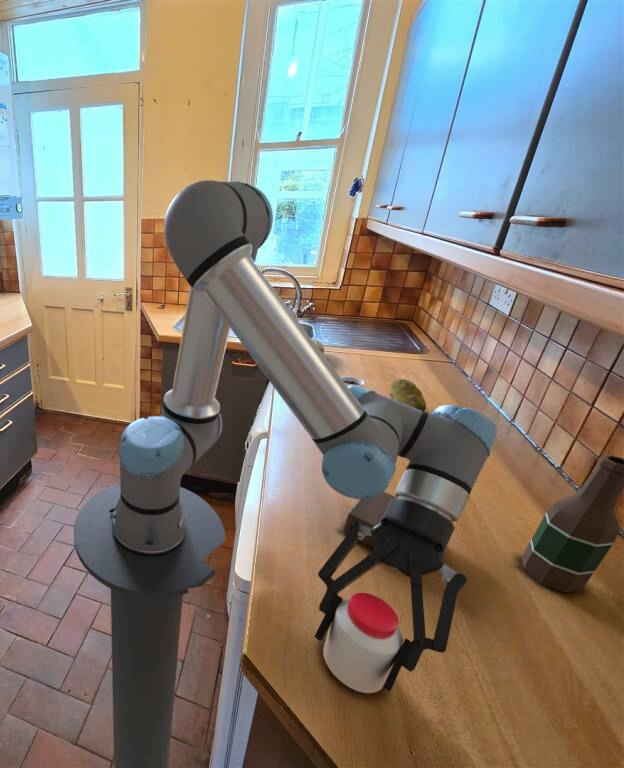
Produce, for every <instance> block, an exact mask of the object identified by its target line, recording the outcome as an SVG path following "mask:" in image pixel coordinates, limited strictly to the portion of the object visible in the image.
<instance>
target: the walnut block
mask: <svg viewBox="0 0 624 768" xmlns="http://www.w3.org/2000/svg"><path fill="white" fill-rule="evenodd" d="M394 498H397V497H396V495H392V494H390V493H388V492H385V491H384V492H383V493H381V494H380V495H378V496H376V497H373V498H369V499H358V501H357V502H356V504H355V505H354V506H353V507H352V508H351V510H350V511H349V512H348V514H347V517H346V521H345V524H344V528H343V531H342V534H344V535H345V536H347V534H348V530H349V526H350V522H351V521H357V522H358V523H359V524H361V525H364V526H367V527H371V528H373V527H374V526H376V525H378V524H379V523H380V521H381V519H382V517H383V515H384V513H385V511H386V509H387V507H388V505H389V503H390V501H391V499H394ZM357 542H360V543H362V544H363V545H365V546H367V547H369V548H371V549H373V550H375V547H374V544H373V540H372V537H371V536H370V535H368V536H366V537H365V538H364V539H363V540H359V539H358V541H357Z"/></svg>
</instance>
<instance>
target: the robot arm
mask: <svg viewBox="0 0 624 768" xmlns="http://www.w3.org/2000/svg"><path fill="white" fill-rule="evenodd" d="M273 223H274V212H273V208H272V204H271V202H270V200H269V198H268V197H267V196H266V194H265V193H264V192H263V191H262V190H260V188H258V187H256V186H254V185H252V184H249V183H247V182H246V183H245V182H241V181H218V180H209V179H208V180H207V179H205V180H198V181H196V182H193V183H191V184H188V185H187V186H185V187H184V188H183V189H181V190H180V191H179V192H178V193H177V194H176V195H175V196H174V197H173V199H172V201H171V202H170V203H169V205H168V208H167V209H166V213H165V217H164V222H163V235H164V240H165V245H166V247H167V250H168V252H169V255H170V257H171V259H172V261H173V262H174V264H175V266H176V268H177V270H178V271H179V272H180V274H181V276H182V277H183V278H184V280H185V281H186V282H187V283H188V285H189V289H188V295H187V301H186V305H185V306H186V307H185V313H184V319H183V324H182V325H183V326H182V330H181V336H180V342H179V350H178V355H177V359H176V360H177V361H176V366H175V373H174V377H173V378H174V379H173V385H172V389H170V390H168V391H167V392H165V394H164V395H163V399H162V405H161V412H160V416H157V415H156V416H155V415H154V416H148V417H147V418H144V417H142V418H139V419H136V420H134V421H132V422H131V423H130V424H128V425H127V426H126V427H125V429H124V430H123V432H122V434H121V437H120V445H119V450H118V454H119V455H118V456H119V470H120V474H119V476H120V477H119V478H120V480H119V481H120V483H119V484H120V488H121V496H120V498H119V501H118V503H117V506H116V507H115V508H113V509H110V510H109V511H110V513H112V512H114V513H113V517H112V532H113V535H114V538H115V539H116V541H117V542H118V543H119V544H120V545H121V546H122V547H123V548H125V549H126V550H128V551H130V552H132V553H134V554H137V555H141V556H150V557H153V556H161V555H165V554H168V553H170V552H172V551H174V550H175V549H177V548H178V547H179V546H180V545H181V544H182V542H183V541H184V538H185V535H186V520H185V515H184V512H182V507H181V504H180V501H179V493H180V487H181V480H182V477H183V476H184V475H185V474H186V473H187V471H188V470H189V469H190V468H191V467H192V466H193V465H194V464H196V462H198V460H199V459H200V458H201V457H202V456H203V455H204V454H205V453H206V452H208V451H209V450H210V449H212V448H213V446H214V445H215V444H216V443H217V441H218V439H219V437H220V436H221V433H222V429H223V417H222V415H221V413H220V410H221V405H220V402H219V401H218V399H217V398H216V393H217V389H218V384H219V380H220V375H221V370H222V368H223V367H222V366H223V362H224V357H225V353H226V348H227V345H228V341H229V337H230V336H229V335H230V331H232V332H233V334H234V335H235V336H236V338H237V339H238V340H239V342H240V344H242V346H243V347H244V349H245V350H246V351H247V352H248V354H249V355H250V357H251V358H252V359H253V360H254V362H255V363H256V365H257V367H258V368H259V369H260V370H261V372H262V373H263V374H264V376H265V377H266V378H267V380H268V381H269V382H270V384H271V385H272V386H273V388H274V389H275V391H276V392H277V394H278V395H279V396H280V397H281V399H282V400H283V402H284V403H285V404H286V405H287V407H288V409H290V411H291V412H292V413H293V415H294V416H295V418H296V419H297V420H298V422H299V424H300V425H301V426H302V427H303V429H304V430H305V431H306V433H307V434H308V436H309V437H310V438H311V440H312V441H313V443H314V445H315V446H316V447H317V448H318V450H319V451H320V453H321V454H322V460H321V472H322V476H323V479H324V481H325V482H326V483H327V485H328V486H329V487H330V488H331V489H332V490H334V491H335V492H336V493H338V494H340V495H342V496H343V497H346V498H350V499H354V500H360V499H369V498H373V497H376V496H378V495H380V494H381V493H383V492H385V491H386V490H387V489H388V487H389V485H390V483H391V481H392V478H393V477H394V475H395V473H396V469H397V468H396V467H397V465H396V464H397V459H398V457H400V458H404V459H406V460H408V464H407V466H406V468H405V470H404V472H403V474H402V476H401V478H400V480H399V483H398V484H397V486H396V488H395V490H394V496H395V497H397V498H394V499H391V501H390V503H389V505H388V507H387V509H386V511H385V513H384V515H383V517H382V519H381V521H380V523H379V524H378V525H376V526H374V527H373V528H371V527H367V526H364V525H361V524H359V523H358V522H357V521H351V522H350V526H349V530H348V534H347V535H345V537H344V538H343V540H341V542H340V543H339V545H338V546H337V547H336V549H335V550H334V551H333V553H332V554H331V555H330V556H329V558H328V559H327V560H326V561H325V563H324V564H323V565H322V566H321V568H320V570H319V571H318V573H317V577H318V578H319V579H320V580H321V581H322V582H323V584H325V586H326V591H325V593H324V595H323V597H322V599H321V601H320V603H319V605H318V610H319V611H320V612H321V613H323V614H324V616H323V618H322V620H321V622H320V624H319V626H318V628H317V630H316V632H315V634H314V636H313V637H314V638H315V639H316V640H317V641H319V642H321V641H322V642H324V639H325V637H326V636H327V634H328V632H329V630H330V627H331V624H332V621H333V618H334V615H335V612H336V609H337V606H338V605H339V604H340V602H342V601H343V600H344V598H343V597H341V596H339V594H340V592H342V591H343V590H345V589H346V588H347V587H349V586H350V585H351V584H353V583H354V582H356V581H357V580H359V579H360V578H361V577H363V576H364V575H365V574H367V573H369V572H370V571H371V570H372V569H374V568H376V567H378V566H379V565H381V564H382V565H383V566H385V567H387V568H389V569H392V570H395V571H397V572H398V573H399V574H400V575H402V576H404V577H405V578H409V581H410V582H409V583H410V597H411V599H410V600H411V616H412V632H413V633H412V634H413V639H412V641H411V640H409V639H408V638H404V639H403V643H402V647H401V649H400V651H399V653H398V656H397V658H396V660H395V662H394V664H393V666H392V669H391V671H390V673H389V675H388V677H387V680H386V682H385V684H384V686H383V687H382V688H384V689H385V690H386V691H388V692H391V691H392V689H393V686H394V684H395V682H396V680H397V677H398V675H399V672H401V669H402V668H404V669H406V670H407V671H409V672H410V673H411V672H413V671H414V670H415V669H416V667H417V665H418V662H419V660H420V658H421V656H422V653H423V652H424V651H425V650H430V651H434V652H437V653H440V654H441V653H443V654H444V653H445V652H446V651H447V648H448V643H449V637H450V632H451V626H452V622H453V618H454V613H455V608H456V603H457V599H458V594H459V592H460V590H461V589H462V588H464V586H465V585H466V583H467V582H468V578H467V576H466V575H465V574H463V573H460V572H457V571H456V570H454V569H453V568H452V567H450V566H448V565H447V564H445V560H444V553H445V551H446V549H447V547H448V544H449V542H450V540H451V538H452V535H453V533H454V531H455V529H456V527H455V526H454V522H458V521H459V520H460V518H461V515H462V513H463V511H464V509H465V507H466V505H467V503H468V500H469V498H470V495H471V492H472V490H473V488H474V486H475V485H476V482H477V479H478V478H479V475H480V474H481V472H482V470H483V467H484V465H485V463H486V461H487V459H488V458H489V457H490V456H491V454H492V453H491V452H492V451H491V450H492V448H493V445H494V443H495V440H496V437H497V434H498V427H497V425H496V423H495V422H494V421H493V419H492V418H490V417H488V416H487V415H486V414H484V413H482V412H480V411H478V410H476V409H473V408H469V407H461V406H459V405H457V404H456V405H455V404H454V405H453V404H444V405H440V406H437V407H436V408H435V409H434V410H433V412H428V411H422V410H419V409H416V408H414V407H411V406H409V405H406V404H404V403H401V402H399V401H396V400H393V399H392V398H391V397H388V396H386V395H383V394H381V393H378V392H377V391H375V390H372V389H371V390H370V389H367V388H364V387H363V388H361V387H357V386H354V385H351V386H348V387H347V385H346V384H345V383H344V381H343V380H342V379H341V377H342V376H340V374H339V373H338V372H337V371H336V369H335V368H334V366H332V364H331V362H330V361H329V360H328V359H327V357H326V356H325V355H324V353H322V352H321V351H320V349H319V348H318V347H317V345H316V344H315V343H314V341H313V340H312V339H311V338H312V337H311V336H310V335H309V333H308V332H307V331H306V329H305V328H304V327H303V325H302V324H301V323H300V321H298V319H297V318H296V316H295V315H294V314H293V312H292V310H291V309H290V308H289V307H288V306H287V304H286V303H285V302H284V300H283V299H282V297H281V296H280V294H278V292H277V291H276V290H275V288H274V287H273V286H272V284H271V283H270V281H269V280H268V279H267V278H266V276H265V275H264V274H263V273H262V271H261V270H260V269H259V268H260V267H258V266H257V264H256V259H257V256H258V251H259V249H260V248H262V246H263V245H264V244H265V243H266V241H267V240H268V239H269V236H270V234H271V231H272V228H273ZM368 535H370V536H371V537H372V540H373V544H374V547H375V549H374V550H373V551H372V552H370V553H369V554H368V555H366V557H364V558H363V559H362V560H360V561H359V562H357V563H356V564H354V565H353V566H352V567H351V568H349V569H348V570H346V571H345V572H343V573H341V575H340V576H338V577H337V578H335V579H333V578H332V577H333V575H334V574H335V573H336V571H337V570H338V569H339V567H340V566H341V565H342V563H343V562H344V561H345V559H346V558H347V557H348V556H349V554H350V553H351V552H352V550H353V549H354V548H355V547H356V545H357V543H358V542H359V541H358V539H359V540H363V539H364V538H365V537H366V536H368ZM437 571H439V572H440V574H441V575H442V576H441V583H442V584H444V586H445V587H444V590H443V593H442V598H441V603H440V607H439V612H438V617H437V621H436V626H435V631H434V635H433V638H430V637H426V621H425V608H424V607H425V606H424V605H425V604H424V593H423V578H422V577H423V576H426V575H429V574H432V573H435V572H437Z"/></svg>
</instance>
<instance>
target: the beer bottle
mask: <svg viewBox="0 0 624 768" xmlns="http://www.w3.org/2000/svg"><path fill="white" fill-rule="evenodd" d="M597 462H598V464H597V465H596V466H595V468H594V469H593V471H592V472H591V473H590V475H589V476H588V478H587V479H586V481H585V482H584V483H583V485H582V486H581V487H580V488H579V489H578V490H577V491H576V492H575V493H574V494H572V495H569V496H567V497H563V498H560V499H558V500H557V501H555V502H554V503H552V504H551V505H550V507H549V508H548V510H547V511H546V512H545V514H544V515H543V518H542V520H541V521H540V523H539V525H538V527H537V528H536V530H535V532H534V534H533V536H532V538H531V539H530V541H529V543H528V544H527V546H526V548H525V550H524V552H523V554H522V557H521V561H522V567H523V571H524V572H525V573H527V575H529V576H530V577H531V578H533V579H534V580H535V581H536V582H538V583H539V584H541V585H542V586H546V587H548V588H551V589H553V590H556V591H559V592H561V593H571V592H578V591H582V589H584V587H585V586H586V585H587V584H588V582H589V581H590V579H591V578H592V576H593V575H594V573H595V572H596V570H597V569H598V567H600V566H599V565H601V563H602V561H603V560H604V558H605V557H606V556H607V554H608V552H609V551H610V550H611V548H612V547H613V545H614V544H615V541H616V539H617V537H618V536H619V533H620V532H619V521H618V518H617V516H616V513H615V508H616V504H617V501H618V499H619V497H620V496H621V493H622V491H623V489H624V458H623V457H620V456H615V455H610V454H608V455H602V456H600V457H599V458H598V459H597Z"/></svg>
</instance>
